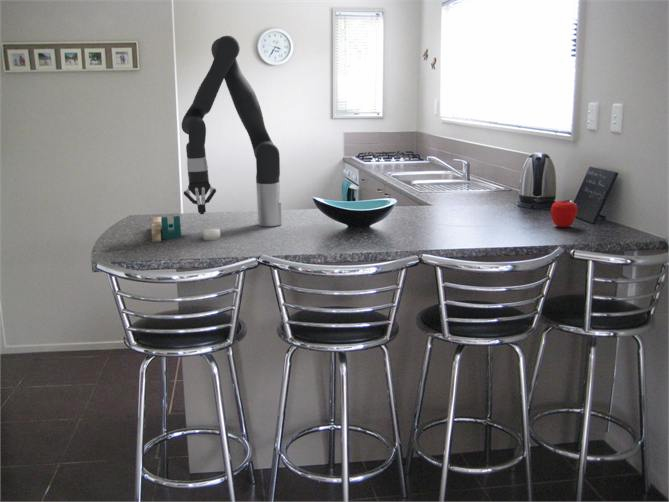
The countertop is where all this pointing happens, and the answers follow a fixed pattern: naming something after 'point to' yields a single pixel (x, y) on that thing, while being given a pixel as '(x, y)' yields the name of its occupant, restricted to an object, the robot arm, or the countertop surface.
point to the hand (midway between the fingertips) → (202, 213)
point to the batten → (156, 229)
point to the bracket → (171, 228)
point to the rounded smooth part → (211, 233)
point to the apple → (563, 213)
